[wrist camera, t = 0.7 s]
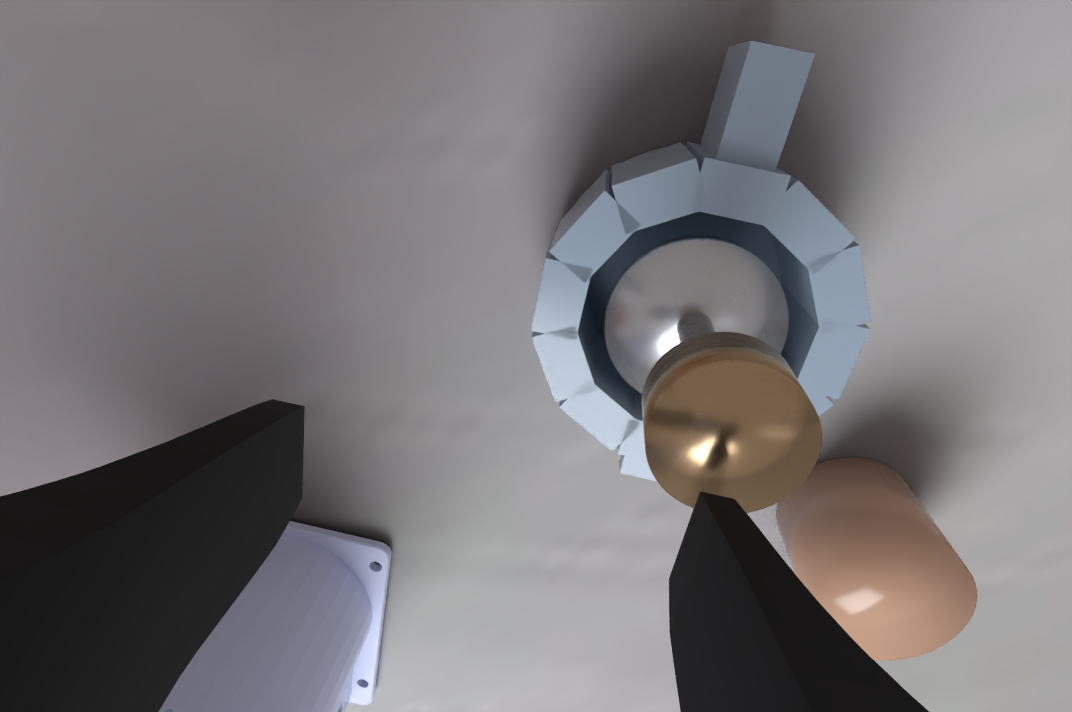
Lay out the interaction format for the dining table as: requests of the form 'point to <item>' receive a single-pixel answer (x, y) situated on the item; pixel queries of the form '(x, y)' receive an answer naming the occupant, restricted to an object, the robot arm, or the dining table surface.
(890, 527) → the tan rounded cylinder
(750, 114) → the press pot
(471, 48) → the dining table surface
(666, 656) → the dining table surface
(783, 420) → the plunger
